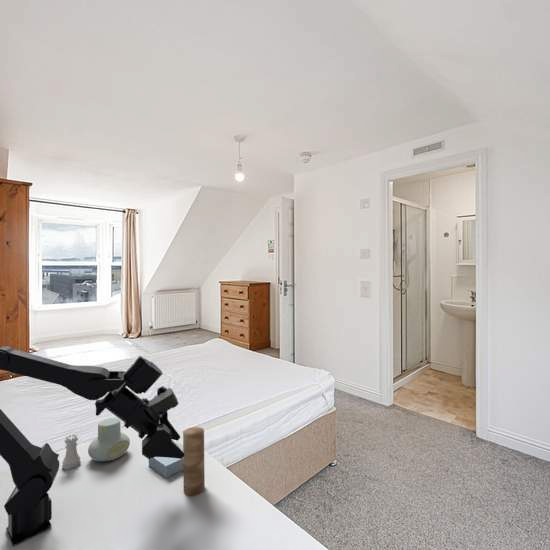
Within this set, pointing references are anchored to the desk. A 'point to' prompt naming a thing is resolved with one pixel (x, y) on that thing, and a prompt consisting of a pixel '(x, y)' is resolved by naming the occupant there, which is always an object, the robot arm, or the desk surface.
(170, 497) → the desk surface
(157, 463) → the pale blue square tile
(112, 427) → the air freshener
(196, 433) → the walnut pillar
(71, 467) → the rook chess piece
